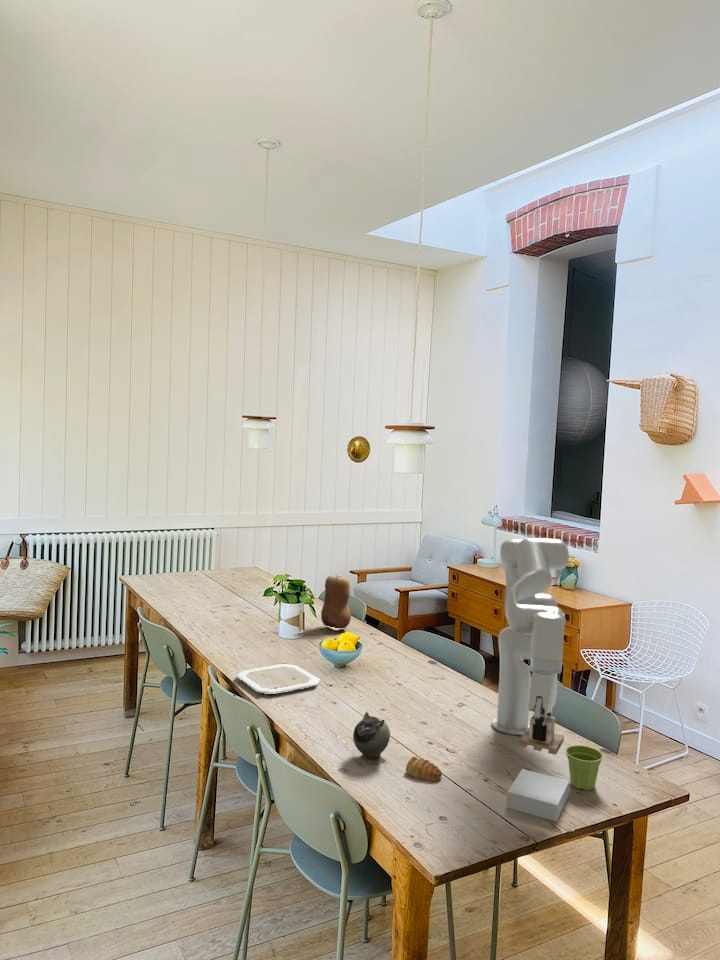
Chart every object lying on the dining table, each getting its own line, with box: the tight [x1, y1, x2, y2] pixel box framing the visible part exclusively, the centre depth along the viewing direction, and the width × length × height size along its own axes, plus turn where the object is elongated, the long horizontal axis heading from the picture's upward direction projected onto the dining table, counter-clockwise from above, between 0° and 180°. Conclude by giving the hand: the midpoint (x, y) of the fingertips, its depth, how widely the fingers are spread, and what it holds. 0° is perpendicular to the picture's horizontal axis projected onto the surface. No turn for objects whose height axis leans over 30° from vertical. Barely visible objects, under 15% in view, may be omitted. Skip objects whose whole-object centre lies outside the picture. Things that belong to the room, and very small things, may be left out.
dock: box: [506, 768, 570, 823], centre depth 176 cm, size 14×12×4 cm
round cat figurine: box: [352, 711, 391, 765], centre depth 196 cm, size 10×12×10 cm
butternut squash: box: [320, 574, 352, 629], centre depth 324 cm, size 14×13×25 cm
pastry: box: [405, 756, 443, 782], centre depth 188 cm, size 9×7×4 cm
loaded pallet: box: [518, 714, 565, 756], centre depth 175 cm, size 9×9×6 cm
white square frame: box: [236, 663, 321, 694], centre depth 253 cm, size 25×25×2 cm
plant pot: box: [564, 744, 604, 791], centre depth 186 cm, size 9×9×9 cm
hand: (541, 735), depth 175 cm, fingers closed on loaded pallet, 5 cm apart
